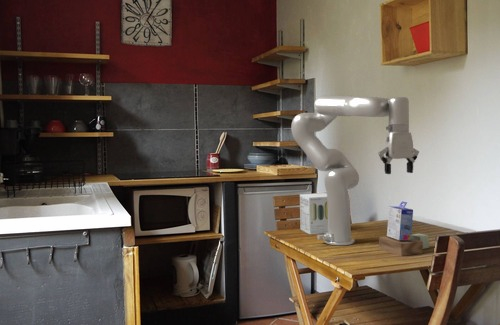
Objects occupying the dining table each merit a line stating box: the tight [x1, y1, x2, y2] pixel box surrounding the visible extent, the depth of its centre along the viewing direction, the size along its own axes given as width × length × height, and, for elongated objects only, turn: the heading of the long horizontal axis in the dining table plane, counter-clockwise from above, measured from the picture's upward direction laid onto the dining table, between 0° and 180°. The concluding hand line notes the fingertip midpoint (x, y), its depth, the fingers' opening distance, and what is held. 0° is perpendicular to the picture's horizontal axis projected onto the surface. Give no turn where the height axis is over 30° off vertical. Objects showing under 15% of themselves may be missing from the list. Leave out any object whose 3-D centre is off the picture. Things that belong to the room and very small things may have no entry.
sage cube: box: [411, 233, 430, 250], centre depth 207 cm, size 5×5×5 cm
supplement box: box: [299, 192, 328, 235], centre depth 246 cm, size 13×13×18 cm
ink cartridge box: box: [386, 201, 414, 241], centre depth 202 cm, size 10×6×14 cm, turn 14°
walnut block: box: [378, 235, 424, 257], centre depth 202 cm, size 10×14×5 cm
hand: (398, 173), depth 200 cm, fingers open, 9 cm apart
